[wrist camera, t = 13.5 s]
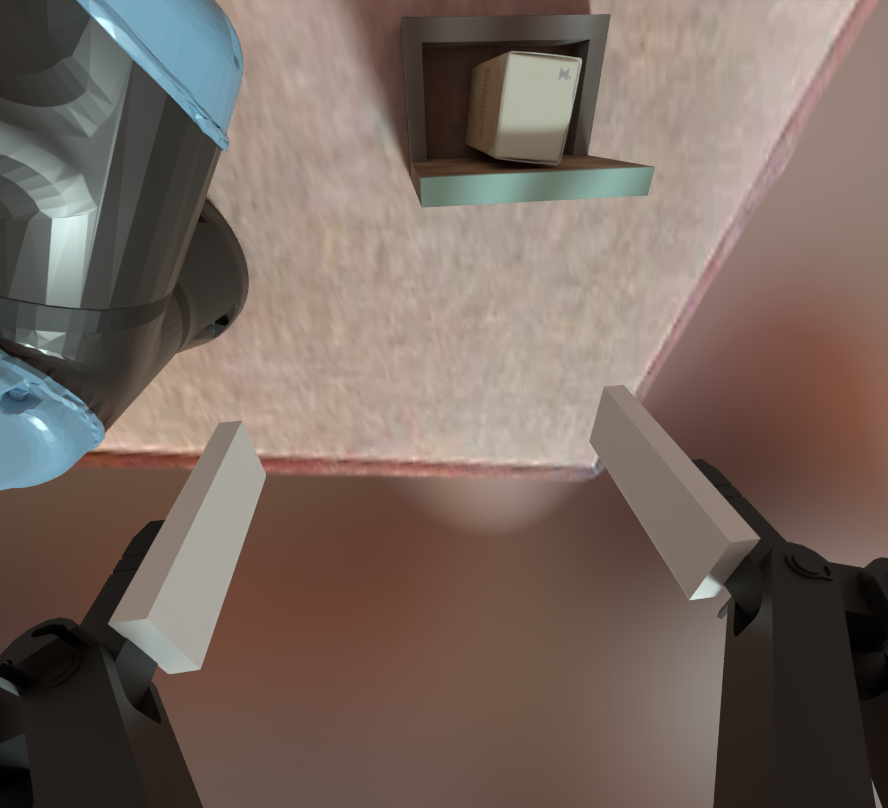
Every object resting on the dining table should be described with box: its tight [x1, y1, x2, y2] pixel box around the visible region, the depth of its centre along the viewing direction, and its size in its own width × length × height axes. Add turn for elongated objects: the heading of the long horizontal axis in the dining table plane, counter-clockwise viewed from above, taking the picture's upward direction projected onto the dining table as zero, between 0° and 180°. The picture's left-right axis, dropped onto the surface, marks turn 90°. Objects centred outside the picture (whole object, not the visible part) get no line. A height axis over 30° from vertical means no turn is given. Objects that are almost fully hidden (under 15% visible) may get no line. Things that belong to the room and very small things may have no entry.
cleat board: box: [401, 14, 655, 207], centre depth 25 cm, size 14×10×13 cm
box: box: [466, 51, 582, 165], centre depth 26 cm, size 5×4×11 cm
